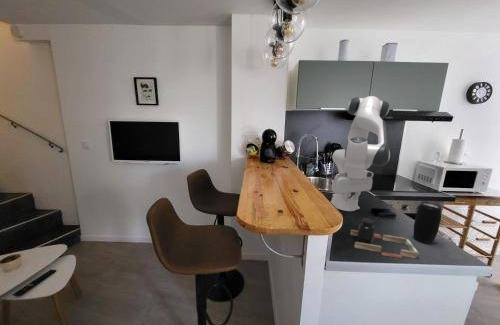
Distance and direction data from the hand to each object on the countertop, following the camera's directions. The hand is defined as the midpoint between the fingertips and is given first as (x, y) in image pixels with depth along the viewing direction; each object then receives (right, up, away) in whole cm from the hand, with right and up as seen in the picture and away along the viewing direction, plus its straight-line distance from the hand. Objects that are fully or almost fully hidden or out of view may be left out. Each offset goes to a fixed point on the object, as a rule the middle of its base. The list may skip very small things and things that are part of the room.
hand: (350, 200), depth 101 cm
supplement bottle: (+8, -22, +2) cm, 23 cm away
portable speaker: (+40, -21, +6) cm, 46 cm away
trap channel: (+15, -22, +1) cm, 27 cm away
